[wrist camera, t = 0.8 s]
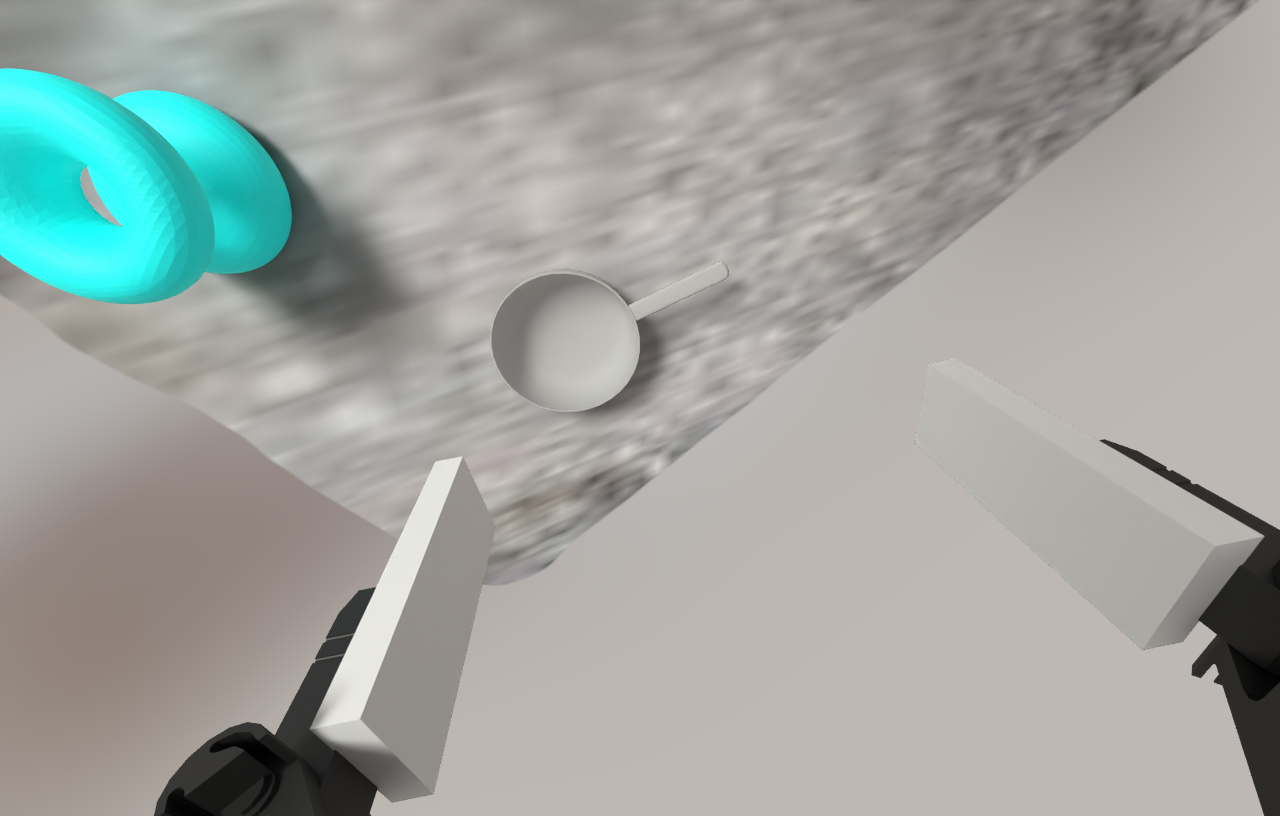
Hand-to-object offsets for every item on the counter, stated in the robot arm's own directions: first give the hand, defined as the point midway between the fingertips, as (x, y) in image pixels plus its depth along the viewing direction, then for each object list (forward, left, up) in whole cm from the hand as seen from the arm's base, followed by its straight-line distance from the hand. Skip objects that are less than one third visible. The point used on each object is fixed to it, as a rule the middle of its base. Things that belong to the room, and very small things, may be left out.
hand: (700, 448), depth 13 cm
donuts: (-10, -25, -24) cm, 36 cm away
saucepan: (+3, -2, -24) cm, 25 cm away
